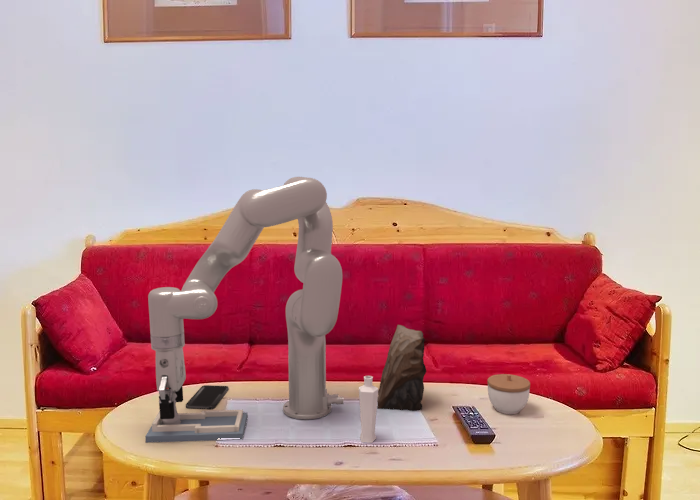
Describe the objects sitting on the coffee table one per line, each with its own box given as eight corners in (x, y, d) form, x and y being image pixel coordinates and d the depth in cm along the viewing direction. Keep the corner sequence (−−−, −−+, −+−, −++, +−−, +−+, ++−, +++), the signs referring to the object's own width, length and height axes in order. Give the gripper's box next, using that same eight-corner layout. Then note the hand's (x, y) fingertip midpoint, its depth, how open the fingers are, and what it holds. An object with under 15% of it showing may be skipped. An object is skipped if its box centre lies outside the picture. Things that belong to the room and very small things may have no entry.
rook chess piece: (184, 424, 145) (183, 392, 144) (167, 430, 142) (166, 397, 141) (174, 418, 148) (173, 387, 147) (157, 424, 145) (156, 392, 144)
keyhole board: (247, 418, 152) (247, 404, 152) (242, 439, 140) (242, 425, 140) (158, 420, 151) (157, 407, 150) (145, 442, 139) (144, 428, 138)
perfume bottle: (364, 445, 137) (364, 382, 135) (355, 438, 141) (355, 376, 139) (381, 441, 139) (382, 378, 137) (372, 434, 143) (372, 373, 141)
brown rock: (390, 391, 170) (390, 322, 167) (434, 398, 165) (435, 327, 162) (374, 408, 158) (375, 334, 156) (421, 416, 154) (423, 339, 151)
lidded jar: (526, 420, 151) (528, 384, 150) (483, 414, 155) (484, 379, 154) (531, 405, 161) (532, 371, 159) (490, 399, 165) (491, 366, 163)
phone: (184, 405, 158) (202, 385, 173) (184, 410, 158) (202, 388, 173) (213, 407, 157) (229, 385, 172) (213, 411, 157) (230, 389, 172)
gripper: (176, 351, 134) (180, 424, 136) (191, 329, 151) (194, 395, 153) (141, 352, 133) (146, 426, 136) (160, 330, 150) (164, 396, 153)
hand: (172, 409), depth 144 cm, fingers open, 9 cm apart
